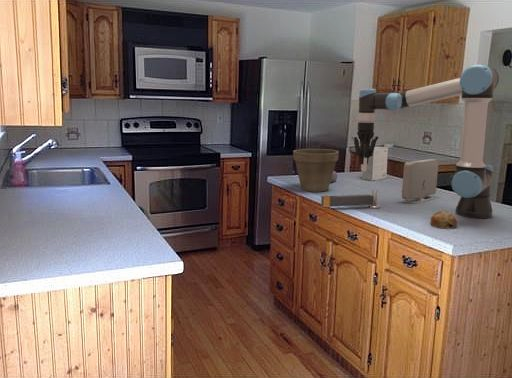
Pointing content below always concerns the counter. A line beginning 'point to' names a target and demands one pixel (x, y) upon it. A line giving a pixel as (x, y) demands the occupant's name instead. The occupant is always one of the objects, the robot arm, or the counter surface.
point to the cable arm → (346, 200)
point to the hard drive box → (377, 165)
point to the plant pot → (315, 168)
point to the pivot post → (374, 201)
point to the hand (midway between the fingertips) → (363, 170)
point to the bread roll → (444, 220)
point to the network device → (419, 180)
